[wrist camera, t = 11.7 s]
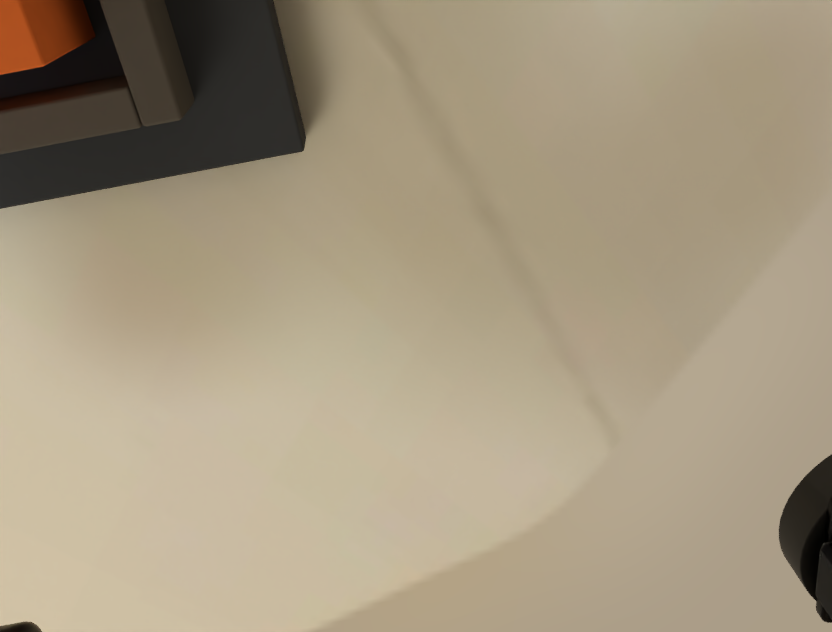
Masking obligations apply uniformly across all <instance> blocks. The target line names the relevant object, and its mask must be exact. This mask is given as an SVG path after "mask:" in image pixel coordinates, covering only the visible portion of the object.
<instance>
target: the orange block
mask: <svg viewBox="0 0 832 632" xmlns="http://www.w3.org/2000/svg"><path fill="white" fill-rule="evenodd" d="M93 38H95V33H94V30H93V27H92V24H91V22H90V19H89V16H88V13H87V10H86V8H85V5H84V2H83V0H0V75H2V74H7V73H12V72H18V71H23V70H28V69H33V68H38V67H43V66H45V65H47V64H49V63H50V62H52V61H54V60H56V59H58V58H59V57H61V56H63V55H65V54H67V53H68V52H70V51H72V50H74V49H75V48H77V47H79V46H81V45H83V44H84V43H86V42H88V41H90V40H92V39H93Z"/></svg>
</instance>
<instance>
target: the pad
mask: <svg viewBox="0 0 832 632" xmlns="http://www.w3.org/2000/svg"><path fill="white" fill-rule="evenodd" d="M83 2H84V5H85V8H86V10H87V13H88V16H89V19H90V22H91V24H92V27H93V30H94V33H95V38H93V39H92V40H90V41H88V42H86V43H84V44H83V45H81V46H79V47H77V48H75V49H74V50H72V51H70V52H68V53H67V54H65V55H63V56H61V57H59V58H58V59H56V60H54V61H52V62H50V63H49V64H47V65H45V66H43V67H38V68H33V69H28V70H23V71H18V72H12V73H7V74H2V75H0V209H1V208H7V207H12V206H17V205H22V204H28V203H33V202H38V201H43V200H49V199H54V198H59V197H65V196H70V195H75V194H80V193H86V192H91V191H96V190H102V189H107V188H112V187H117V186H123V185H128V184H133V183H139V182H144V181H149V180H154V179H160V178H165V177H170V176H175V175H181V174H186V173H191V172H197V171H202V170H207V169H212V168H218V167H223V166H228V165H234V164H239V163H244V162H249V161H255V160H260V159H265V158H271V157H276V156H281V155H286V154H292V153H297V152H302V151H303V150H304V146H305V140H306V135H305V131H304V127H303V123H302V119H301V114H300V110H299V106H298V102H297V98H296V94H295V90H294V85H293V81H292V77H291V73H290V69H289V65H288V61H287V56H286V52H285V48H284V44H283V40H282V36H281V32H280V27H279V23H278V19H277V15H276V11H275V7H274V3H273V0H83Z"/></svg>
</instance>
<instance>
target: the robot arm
mask: <svg viewBox="0 0 832 632" xmlns="http://www.w3.org/2000/svg"><path fill="white" fill-rule="evenodd" d="M815 595H816V597H817V601H816V611H817V613H818V614H819V616H820V617H821V619H822V620H823V621H824V622H827V623H832V496H831V497H830V499H829V501H828V508H827V516H826V525H825V533H824V542H823V545H822V548H821V550H820V556H819V565H818V573H817V582H816V591H815ZM0 632H42V631H41V629H40V628H39V627H38V626H37V625H35V624H34V623H32V622H21V623H15V624H10V625H4V626H0Z"/></svg>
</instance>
